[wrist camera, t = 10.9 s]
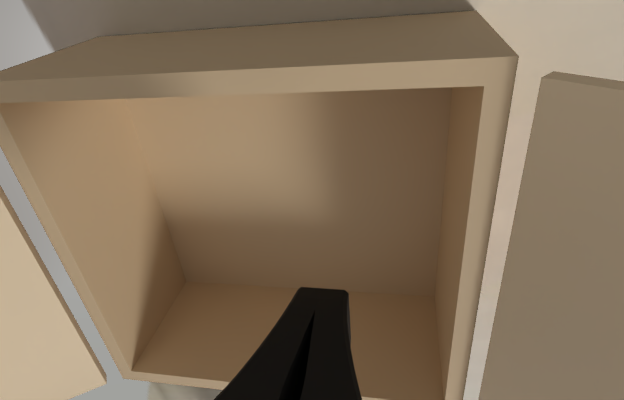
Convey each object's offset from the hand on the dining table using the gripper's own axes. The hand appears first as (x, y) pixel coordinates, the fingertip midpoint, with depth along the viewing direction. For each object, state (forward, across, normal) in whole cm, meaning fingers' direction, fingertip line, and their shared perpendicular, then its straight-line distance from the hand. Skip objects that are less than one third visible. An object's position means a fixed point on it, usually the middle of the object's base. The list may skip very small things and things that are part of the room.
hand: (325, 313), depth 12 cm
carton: (+7, +3, 0) cm, 8 cm away
